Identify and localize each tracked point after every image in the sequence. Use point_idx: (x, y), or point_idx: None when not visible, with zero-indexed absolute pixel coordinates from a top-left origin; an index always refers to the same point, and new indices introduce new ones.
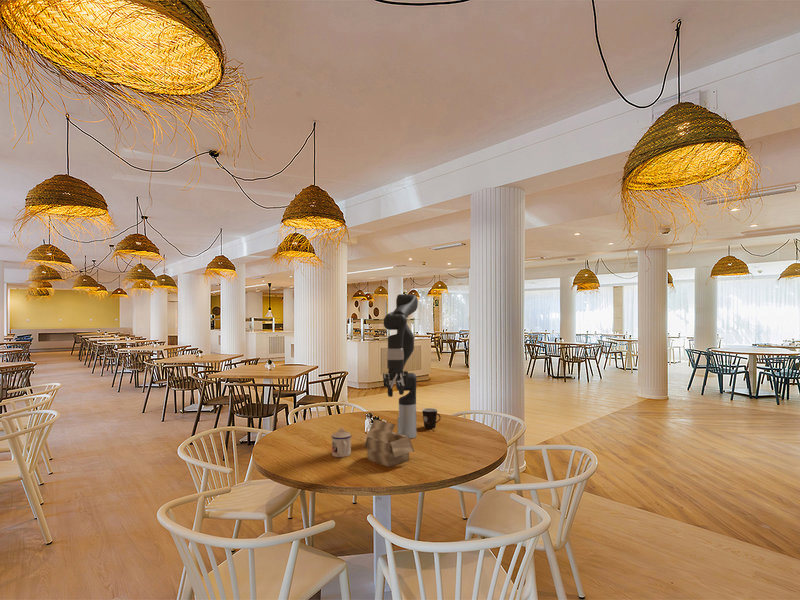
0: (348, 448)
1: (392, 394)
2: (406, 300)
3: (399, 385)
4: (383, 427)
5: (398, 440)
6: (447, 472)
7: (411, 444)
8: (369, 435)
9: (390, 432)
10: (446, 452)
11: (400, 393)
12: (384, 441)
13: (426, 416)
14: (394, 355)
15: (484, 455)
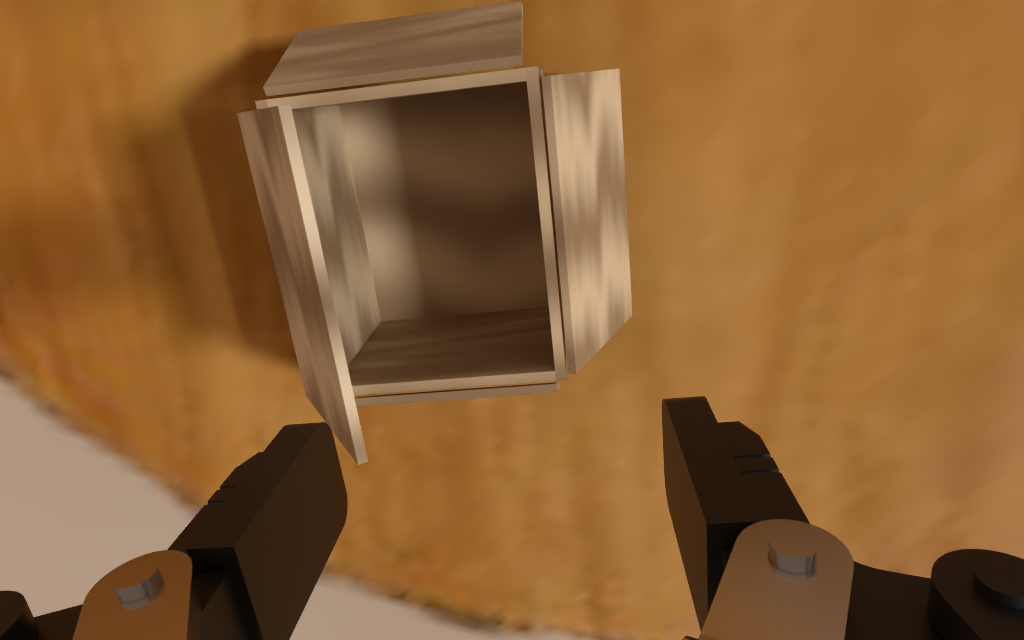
0: None
1: (327, 546)
2: None
3: (741, 540)
4: (309, 313)
5: (426, 401)
6: (597, 579)
7: (605, 340)
8: (248, 148)
9: (328, 418)
10: (898, 354)
11: (666, 453)
12: (299, 364)
13: None
14: None
15: (1010, 548)
